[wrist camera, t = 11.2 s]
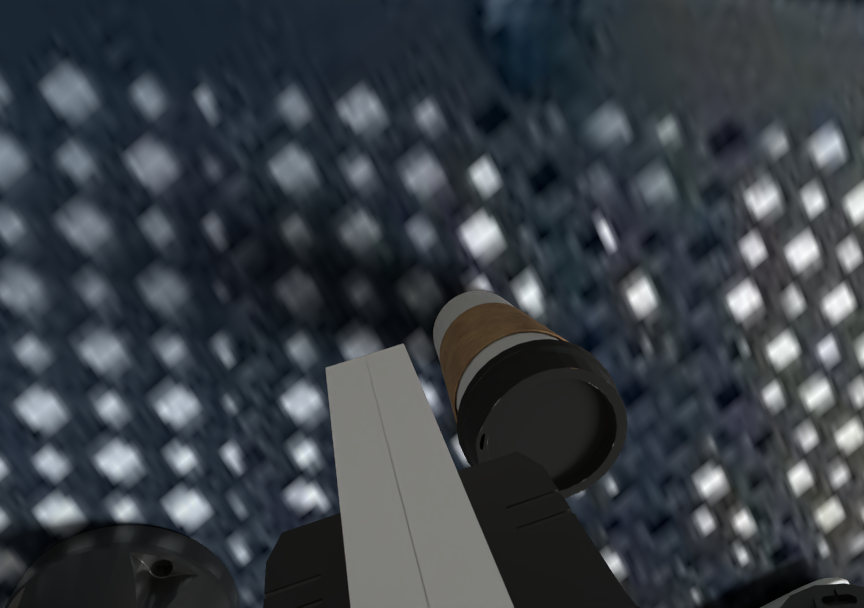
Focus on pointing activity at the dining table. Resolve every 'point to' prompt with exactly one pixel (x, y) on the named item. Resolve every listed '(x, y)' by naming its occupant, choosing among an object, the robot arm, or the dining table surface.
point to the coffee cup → (527, 392)
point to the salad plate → (776, 604)
